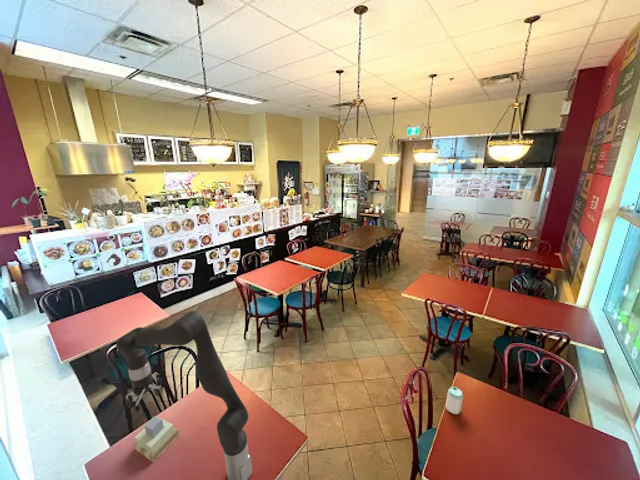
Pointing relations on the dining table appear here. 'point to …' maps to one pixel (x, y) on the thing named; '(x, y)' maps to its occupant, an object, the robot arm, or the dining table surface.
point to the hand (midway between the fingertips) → (148, 402)
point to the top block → (151, 442)
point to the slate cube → (154, 426)
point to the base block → (161, 448)
